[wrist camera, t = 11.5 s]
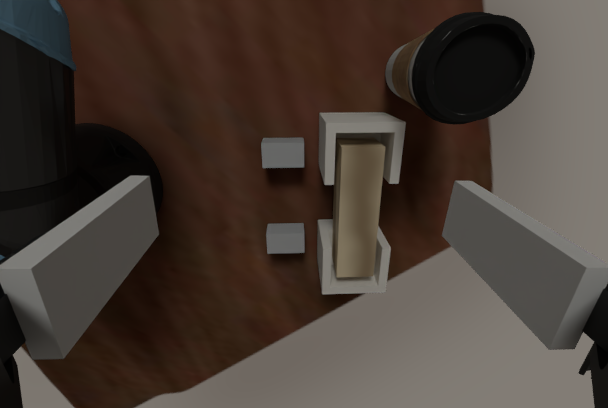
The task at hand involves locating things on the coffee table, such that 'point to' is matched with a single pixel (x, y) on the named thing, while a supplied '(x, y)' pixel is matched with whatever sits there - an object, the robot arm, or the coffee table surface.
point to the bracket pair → (331, 128)
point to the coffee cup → (463, 67)
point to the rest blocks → (284, 156)
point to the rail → (356, 205)
